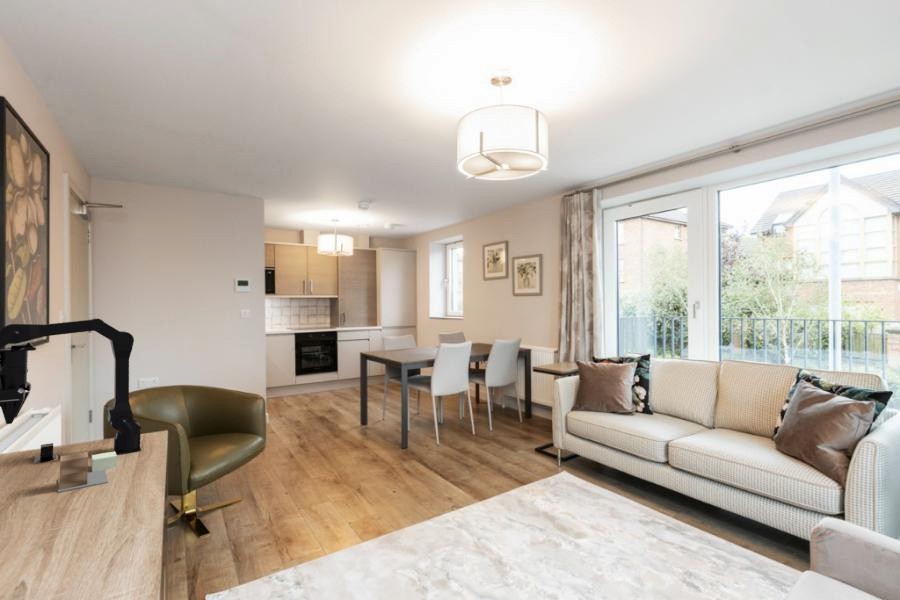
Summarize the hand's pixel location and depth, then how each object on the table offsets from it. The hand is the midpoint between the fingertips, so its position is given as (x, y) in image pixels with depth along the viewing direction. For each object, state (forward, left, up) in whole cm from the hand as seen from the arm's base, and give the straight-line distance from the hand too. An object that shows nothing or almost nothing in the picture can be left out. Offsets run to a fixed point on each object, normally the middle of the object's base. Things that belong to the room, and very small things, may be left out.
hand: (11, 420), depth 124 cm
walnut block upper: (-13, +26, -11) cm, 31 cm away
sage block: (-20, +14, -15) cm, 29 cm away
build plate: (-8, -8, -15) cm, 19 cm away
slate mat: (-15, +24, -14) cm, 32 cm away
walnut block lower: (-13, +26, -14) cm, 32 cm away
